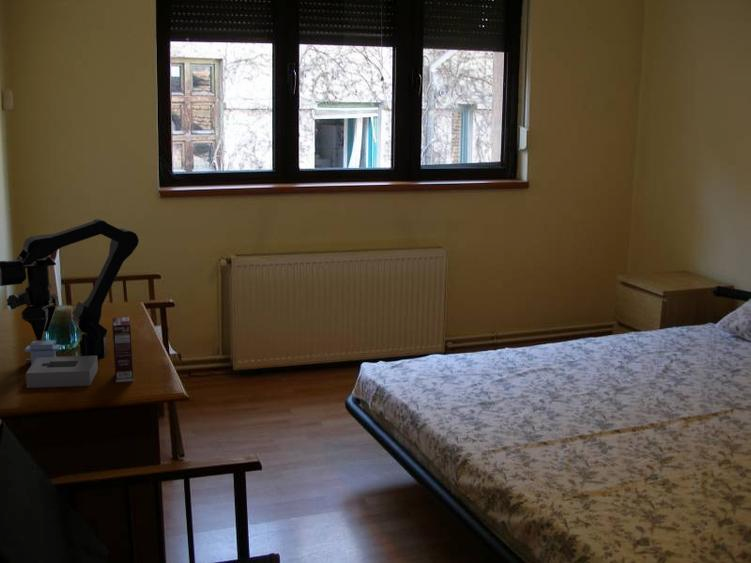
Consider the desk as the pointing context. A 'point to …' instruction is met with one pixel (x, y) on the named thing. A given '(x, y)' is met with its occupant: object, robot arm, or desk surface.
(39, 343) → the block
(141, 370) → the desk surface
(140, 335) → the desk surface
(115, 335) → the supplement box
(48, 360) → the chassis
